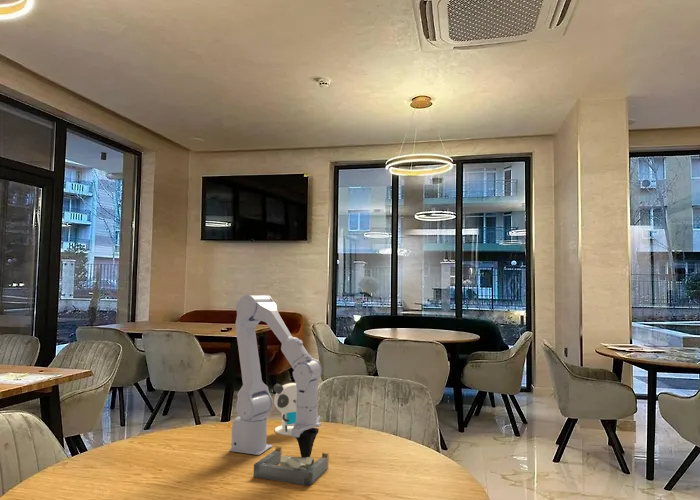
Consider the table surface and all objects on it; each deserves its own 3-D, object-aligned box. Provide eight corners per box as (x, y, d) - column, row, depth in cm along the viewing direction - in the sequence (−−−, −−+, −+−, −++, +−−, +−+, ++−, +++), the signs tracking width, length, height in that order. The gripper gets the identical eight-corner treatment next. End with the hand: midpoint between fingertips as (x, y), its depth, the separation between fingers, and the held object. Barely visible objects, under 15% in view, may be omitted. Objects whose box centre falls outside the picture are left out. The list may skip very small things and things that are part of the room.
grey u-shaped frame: (253, 477, 119) (254, 461, 119) (276, 460, 130) (276, 445, 130) (309, 485, 114) (310, 469, 114) (328, 467, 125) (328, 452, 126)
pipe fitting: (307, 482, 118) (314, 469, 124) (307, 466, 118) (314, 454, 124) (276, 479, 119) (284, 467, 126) (276, 463, 119) (284, 452, 126)
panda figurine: (278, 437, 150) (279, 388, 151) (268, 427, 160) (270, 381, 161) (314, 433, 155) (315, 385, 156) (303, 423, 165) (304, 379, 166)
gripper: (309, 413, 123) (308, 468, 122) (330, 401, 137) (329, 450, 136) (284, 410, 125) (283, 464, 124) (307, 398, 139) (306, 447, 138)
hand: (305, 457), depth 130 cm, fingers closed
